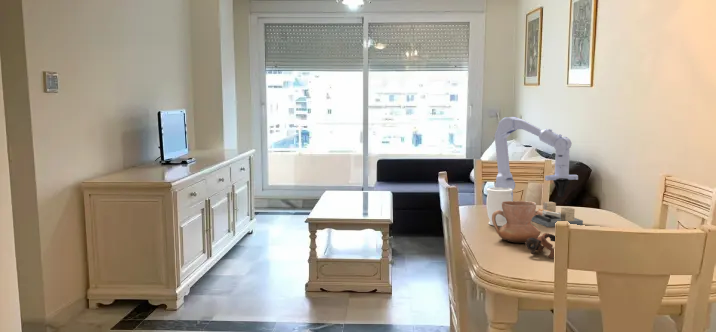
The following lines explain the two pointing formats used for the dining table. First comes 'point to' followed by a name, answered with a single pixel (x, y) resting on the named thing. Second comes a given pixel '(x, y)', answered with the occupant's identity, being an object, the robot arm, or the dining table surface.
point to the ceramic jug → (517, 221)
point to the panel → (548, 221)
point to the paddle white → (551, 213)
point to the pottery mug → (543, 241)
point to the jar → (497, 203)
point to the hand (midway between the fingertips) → (560, 196)
